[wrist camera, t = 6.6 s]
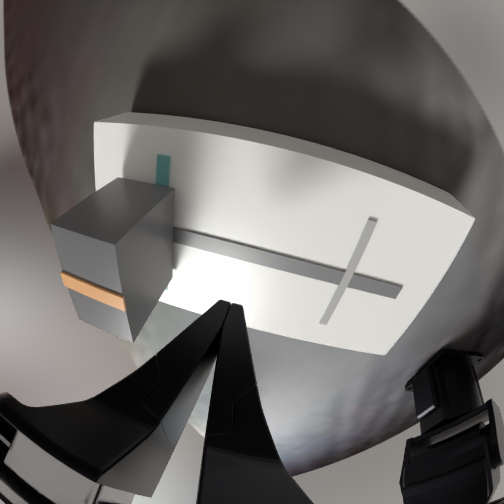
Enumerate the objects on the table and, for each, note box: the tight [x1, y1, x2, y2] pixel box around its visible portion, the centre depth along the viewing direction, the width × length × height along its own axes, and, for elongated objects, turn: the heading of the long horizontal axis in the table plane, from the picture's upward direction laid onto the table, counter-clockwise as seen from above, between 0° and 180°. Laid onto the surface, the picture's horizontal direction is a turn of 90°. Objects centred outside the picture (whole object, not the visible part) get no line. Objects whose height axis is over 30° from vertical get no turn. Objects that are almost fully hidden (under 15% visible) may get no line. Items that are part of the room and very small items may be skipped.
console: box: [94, 112, 475, 355], centre depth 14 cm, size 18×10×3 cm, turn 80°
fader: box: [51, 177, 175, 343], centre depth 11 cm, size 3×5×5 cm, turn 170°
